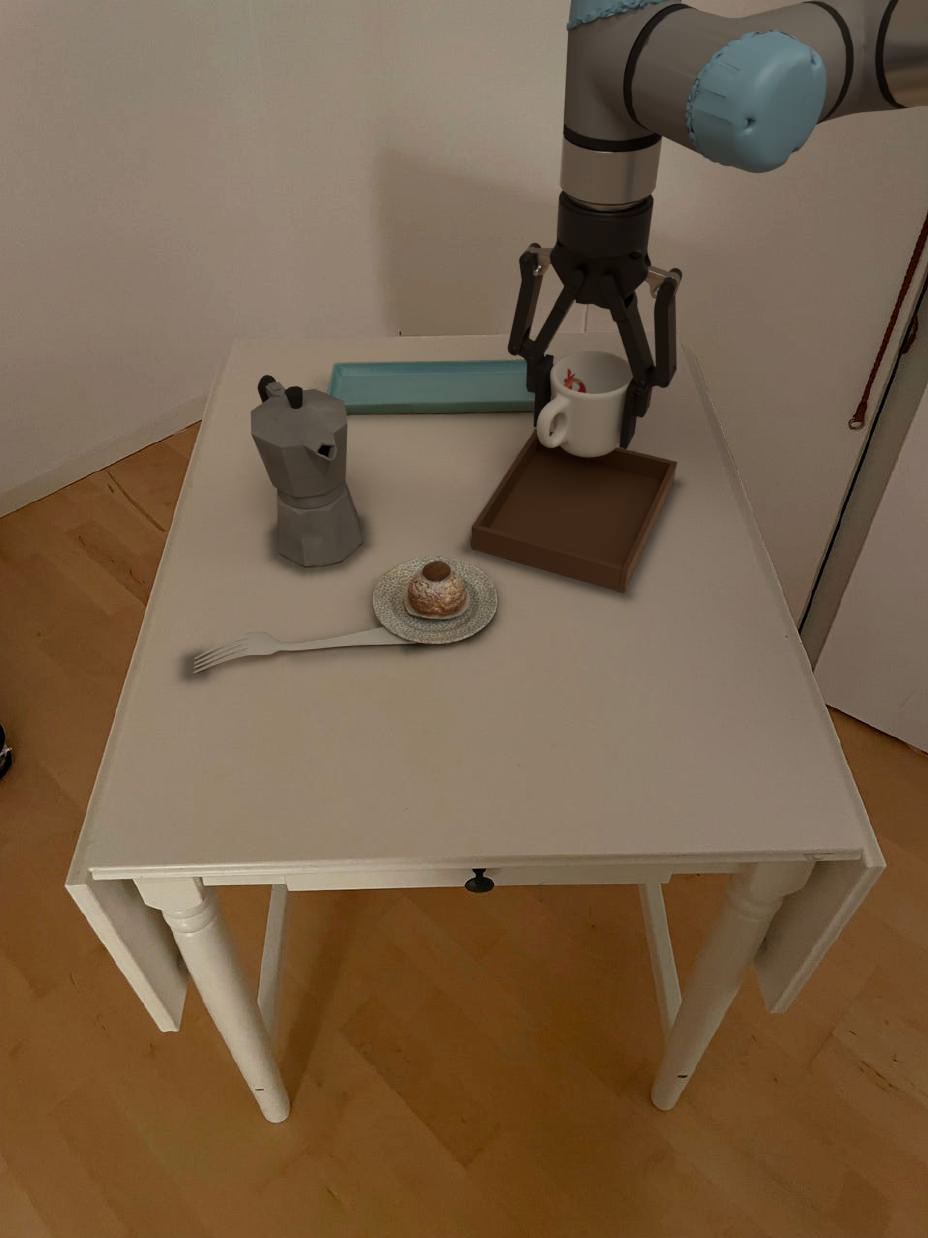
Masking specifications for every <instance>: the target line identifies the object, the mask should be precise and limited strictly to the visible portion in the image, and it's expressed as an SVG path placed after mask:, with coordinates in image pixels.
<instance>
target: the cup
mask: <svg viewBox="0 0 928 1238" xmlns="http://www.w3.org/2000/svg"><path fill="white" fill-rule="evenodd" d="M632 378H633V374H632V371H631V368H630V365H629V362H628V360H627V359H625V358H624V357H622V356H619V355H617V354H614V353H612V352H607V351H600V350H584V351H578V352H577V351H576V352H573V353H569V354H566V355H565V356H563V357H561V358H560V359H558V360H557V361H556V362H555V363H553V367H552V369H551V372H550V384H551V402H549V403H548V404H547V405H546V406H545V407H544V408H543V409H542V411H541V412H540V414H539V417H538V420H537V436H538V439H539V441H540V442H541V444H543V445H544V446H546V447H548V448H554V447H557V446H559V445H560V446H561V447H562V448H563V449H564V450H565V451H567V452H569V453H571V454H573V455H576V456H580V457H598V456H602V455H605V454H608V453H609V452H611V451H613V450H614V449H615V448H616V447H619V443H620V435H621V428H622V420H623V412H624V405H625V397H626V390H627V387H628V385H629V384H630V382H631V380H632ZM552 422H553V429H554V430H553V431H552V432H553V434H552V435H551V436H550V435H549V431H551V424H552Z"/></svg>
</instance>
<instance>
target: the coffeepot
mask: <svg viewBox="0 0 928 1238" xmlns="http://www.w3.org/2000/svg"><path fill="white" fill-rule="evenodd" d="M256 388H257V391H258V394H259V398H260V400H261V403H260V404H259V405H257V406H256V407H254V408H253V409H251V410H250V435H251V437H252V439H253V442H254V444H255V447H256V449H257V451H258V454H259V457H260V459H261V462H262V463H263V466H264V469H265V471H266V473H267V475H268V478H269V480H270V483H271V486H272V487H273V488H274V489H276V512H277V513H276V514H277V523H276V524H277V544H278V545H277V546H278V554H280V555H282V556H283V557H284V558H286V559H287V560H289V561H290V562H292V563H295V564H297V565H299V566H300V565H301V566H303V567H312V568H316V567H317V568H318V567H326V566H330V565H331V566H332V565H334V564H337V563H340V562H342V561H344V560H346V559H347V558H349V557H350V556H351V555H353V553H354V552H355V551H356V550H357V549H358V547H359V546H360V545H361V544H362V543H363V535H362V528H361V520H360V518H359V517H360V516H359V514H358V511H357V509H356V506H355V503H354V501H353V500H354V499H353V498H352V495H351V492H350V489H349V487H348V486H349V485H348V483H347V481H346V477H347V456H348V455H347V452H348V425H349V423H348V416H347V415H348V414H346V409H345V403H344V401H343V400H341V399H339V398H336V397H334V396H331V395H329V394H328V392H324V391H322V390H319V389H318V388H313V389H312V388H309V389H304V388H303V387H301V386H299V385H296V386H295V385H294V386H293V385H292V386H289V387H288V388H285V386H284V385H283V384H282V383H281V382H280V381H277V380H276V378H275V377H274V376H272V375H270V374H265V375H262V377H260V379H259V382H258V384H257V387H256Z"/></svg>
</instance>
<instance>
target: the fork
mask: <svg viewBox="0 0 928 1238" xmlns="http://www.w3.org/2000/svg"><path fill="white" fill-rule="evenodd" d="M417 643H418V642H414V641H412V642H409V641H407V640H406V639H405V638H402V637H400V636H398V635H396V634H394V633H392V632H390V631H389V630H388V629H386V628H385V627H384V626H382V627H377V628H376V627H375V628H373V629H368V630H364V631H359V632H354V633H350V634H345V635H341V636H336V637H330V638H325V639H319V640H318V639H317V640H311V641H305V642H292V643H290V642H284V641H280V640H278V639H277V638H275V637H274V636H273V634H271V633H269V632H267V631H251V632H246V633H243V634H239V635H237V636H234V637H231V638H229V639H228V640H225V641H223V642H222V643H219V644H217V645H215V646H213V647H211V648H209V649H208V650H206V651H203V652H202V653H201V654H199V655H197V656H195V657H194V660H197V659H198V660H197V661H195V662H193V663H194V664H193V665H195V666H194V667H193V669H196V670H194V671H193V674H196V673H199V672H201V671H204V670H206V669H209V668H211V667H213V666H217V665H219V664H221V663H225V662H227V661H230V660H232V659H237V658H241V657H244V656H269V655H273V654H274V653H275V652H280V651H306V650H315V649H326V648H337V647H352V646H375V645H376V646H377V645H378V646H379V645H409V644H410V645H412V644H417ZM207 654H208V655H207ZM196 664H197V665H196ZM206 664H207V665H206ZM204 665H205V666H204ZM201 666H202V667H201ZM199 667H200V668H199ZM197 668H199V669H197Z"/></svg>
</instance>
